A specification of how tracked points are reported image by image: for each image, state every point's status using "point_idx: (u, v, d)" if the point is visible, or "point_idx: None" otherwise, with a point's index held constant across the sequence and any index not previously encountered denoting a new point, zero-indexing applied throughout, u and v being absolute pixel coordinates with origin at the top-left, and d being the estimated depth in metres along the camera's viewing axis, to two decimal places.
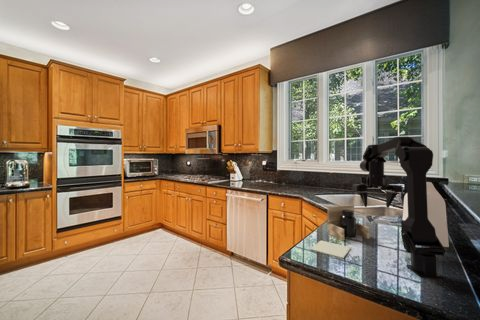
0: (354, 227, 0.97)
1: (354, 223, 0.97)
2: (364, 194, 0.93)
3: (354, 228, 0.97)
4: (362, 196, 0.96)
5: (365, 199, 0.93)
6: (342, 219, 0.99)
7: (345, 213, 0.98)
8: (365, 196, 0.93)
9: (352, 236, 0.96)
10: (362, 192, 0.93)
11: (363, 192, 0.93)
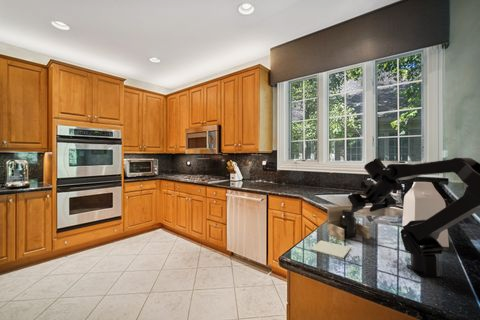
0: (354, 227, 0.97)
1: (354, 223, 0.97)
2: (359, 209, 0.84)
3: (354, 228, 0.97)
4: None
5: (356, 210, 0.87)
6: (342, 219, 0.99)
7: (345, 213, 0.98)
8: (358, 210, 0.85)
9: (352, 236, 0.96)
10: (358, 208, 0.84)
11: (359, 208, 0.84)
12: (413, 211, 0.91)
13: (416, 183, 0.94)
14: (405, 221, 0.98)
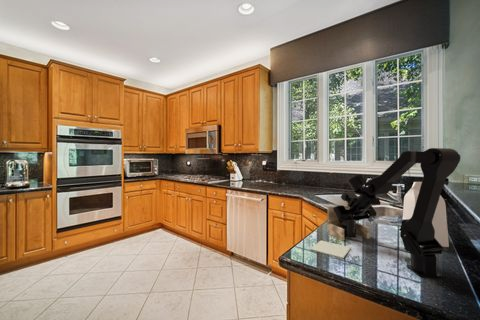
0: (354, 227, 0.97)
1: (354, 223, 0.97)
2: (345, 220, 0.94)
3: (354, 228, 0.97)
4: None
5: None
6: None
7: None
8: (345, 220, 0.95)
9: (352, 236, 0.96)
10: (344, 219, 0.93)
11: (345, 219, 0.93)
12: None
13: (416, 183, 0.94)
14: None
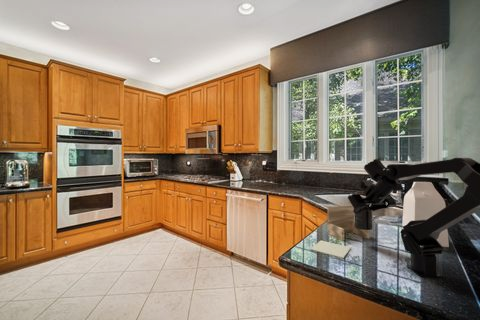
0: (371, 218, 0.87)
1: (371, 214, 0.87)
2: (361, 209, 0.85)
3: (371, 219, 0.87)
4: None
5: (359, 211, 0.87)
6: None
7: None
8: (361, 210, 0.86)
9: (369, 228, 0.87)
10: (361, 209, 0.84)
11: (362, 209, 0.84)
12: (413, 211, 0.91)
13: (416, 183, 0.94)
14: (405, 221, 0.98)
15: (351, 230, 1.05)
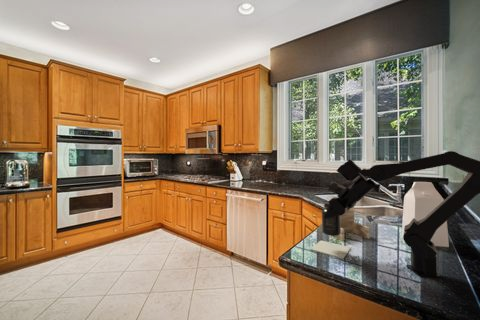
0: None
1: None
2: None
3: None
4: (331, 210, 0.80)
5: (334, 216, 0.79)
6: None
7: None
8: None
9: (339, 233, 0.82)
10: None
11: None
12: (413, 211, 0.91)
13: (416, 183, 0.94)
14: (405, 221, 0.98)
15: (351, 230, 1.05)
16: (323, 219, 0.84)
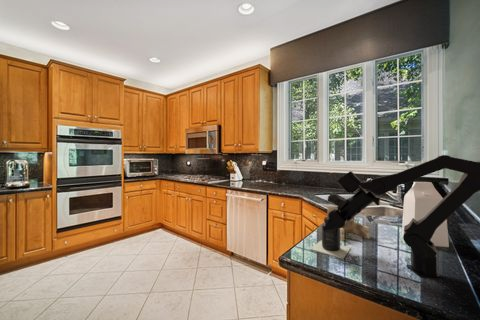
0: None
1: None
2: None
3: None
4: (330, 222, 0.79)
5: (333, 228, 0.78)
6: (329, 230, 0.81)
7: None
8: None
9: (339, 248, 0.82)
10: None
11: None
12: (413, 211, 0.91)
13: (416, 183, 0.94)
14: (405, 221, 0.98)
15: (351, 230, 1.05)
16: (323, 234, 0.83)
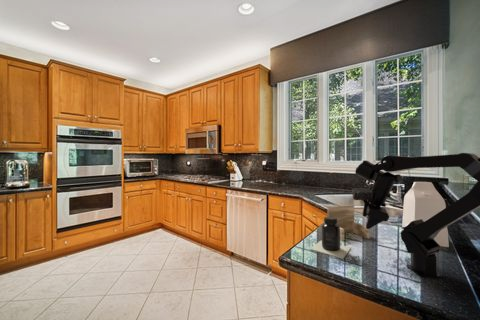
0: None
1: None
2: None
3: None
4: (371, 219, 0.77)
5: None
6: (329, 230, 0.81)
7: (331, 222, 0.82)
8: None
9: (339, 248, 0.82)
10: None
11: None
12: (413, 211, 0.91)
13: (416, 183, 0.94)
14: (405, 221, 0.98)
15: (351, 230, 1.05)
16: (323, 234, 0.83)
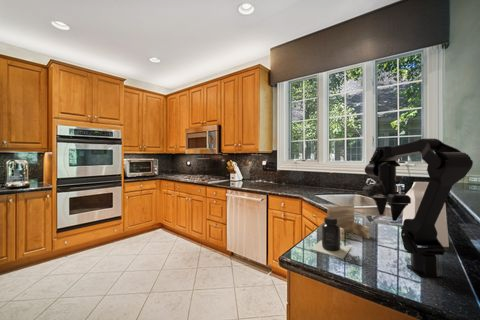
0: None
1: None
2: None
3: None
4: (395, 208, 0.77)
5: None
6: (329, 230, 0.81)
7: (331, 222, 0.82)
8: None
9: (339, 248, 0.82)
10: None
11: None
12: (413, 211, 0.91)
13: (416, 183, 0.94)
14: None
15: (351, 230, 1.05)
16: (323, 234, 0.83)
